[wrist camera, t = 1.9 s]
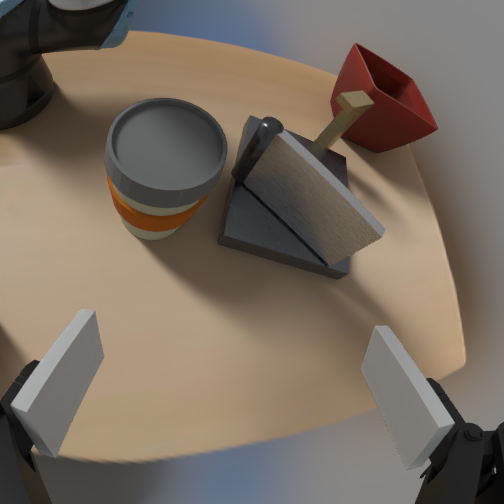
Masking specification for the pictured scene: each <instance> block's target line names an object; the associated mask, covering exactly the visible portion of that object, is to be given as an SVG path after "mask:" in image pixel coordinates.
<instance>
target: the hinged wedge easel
mask: <svg viewBox="0 0 504 504" xmlns="http://www.w3.org/2000/svg"><path fill="white" fill-rule="evenodd" d="M232 177H233V178H234V179H235V180H236V181H238V182H240V183H244V184H245V185H246V186H247V187H248V188H249V189H250V190H251V191H253V192H254V193H255V194H256V195H257V196H258V197H259V198H260V199H261V200H262V201H263V202H264V203H265V204H266V205H268V206H269V207H270V208H271V209H272V210H273V211H274V212H275V213H276V214H277V215H278V216H279V217H280V218H281V219H282V220H283V221H284V222H285V223H286V224H288V225H289V226H290V227H291V228H292V229H293V230H294V231H295V232H296V233H297V234H298V235H299V236H300V237H301V238H302V239H303V240H304V241H305V242H306V243H307V244H308V245H309V246H310V247H311V248H312V249H313V250H314V251H315V252H316V253H317V254H318V255H319V256H320V257H321V258H322V259H323V260H324V261H325V262H326V263H327V264H328V265H329V266H332V265H334V264H335V263H337V262H339V261H341V260H343V259H345V258H346V257H348V256H350V255H352V254H354V253H355V252H357V251H359V250H361V249H363V248H364V247H366V246H368V245H370V244H371V243H373V242H375V241H377V240H378V239H380V238H382V236H383V234H384V232H385V230H386V229H385V228H384V227H383V226H382V225H381V224H380V223H379V222H378V221H377V219H376V218H375V217H374V216H373V215H372V214H371V213H370V212H369V211H368V210H367V209H366V208H365V207H364V206H363V204H362V203H361V202H360V201H359V200H358V199H357V198H356V197H355V196H354V195H353V194H352V193H351V192H350V191H349V190H348V189H347V188H346V187H345V186H344V185H343V184H342V183H341V182H340V181H339V180H338V179H337V178H336V177H335V176H334V175H333V174H332V173H331V172H330V171H329V170H328V169H327V168H326V167H325V166H324V165H323V164H322V163H321V162H320V161H318V160H317V159H316V158H315V157H314V156H313V155H312V154H311V153H310V152H309V151H308V150H307V149H306V148H305V147H303V146H302V145H301V144H300V143H299V142H298V141H297V140H296V139H295V138H293V137H292V136H291V135H290V134H289V133H288V132H287V131H286V130H284V127H283V125H282V123H281V122H280V121H279V120H277V119H275V118H273V117H265V118H263V120H262V121H261V123H260V125H259V126H258V128H257V130H256V131H255V133H254V134H253V136H252V138H251V139H250V141H249V143H248V144H247V146H246V148H245V149H244V151H243V153H242V154H241V156H240V158H239V159H238V161H237V163H236V164H235V166H234V168H233V170H232Z"/></svg>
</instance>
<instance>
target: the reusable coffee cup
mask: <svg viewBox="0 0 504 504" xmlns="http://www.w3.org/2000/svg"><path fill="white" fill-rule="evenodd" d="M226 155H227V141H226V137H225V134H224V132H223V130H222V128H221V126H220V125H219V124H218V122H217V121H216V120H215V119H214V118H213V117H212V116H211V115H210V114H209V113H208V112H206V111H205V110H203V109H202V108H200V107H198V106H196V105H194V104H192V103H189V102H186V101H182V100H178V99H172V98H154V99H147V100H144V101H140V102H138V103H135V104H133V105H131V106H129V107H128V108H126V109H125V110H123V111H122V112H121V113H120V114H119V115H118V116H117V117H116V118H115V120H114V121H113V123H112V125H111V126H110V129H109V132H108V136H107V142H106V148H105V167H106V171H107V179H108V183H109V187H110V191H111V195H112V198H113V202H114V206H115V207H116V209H117V211H118V213H119V214H120V216H121V219H122V222H123V224H124V226H125V227H126V228H127V229H128V231H129V232H131V233H132V234H133V235H135V236H137V237H139V238H141V239H145V240H160V239H164V238H166V237H168V236H170V235H172V234H173V233H174V232H175V231H176V230H177V229H178V228H179V226H181V225H182V224H184V223H185V222H186V221H188V220H189V218H190V217H191V216H192V215H193V214H194V212H195V211H196V210H197V209H198V208H199V206H200V205H201V204H202V203H203V201H204V200H205V199H206V197H207V195H208V193H209V192H210V191H211V190H212V189H213V188H214V187H215V185H216V183H217V181H218V179H219V178H220V175H221V172H222V169H223V166H224V163H225V160H226Z"/></svg>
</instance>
